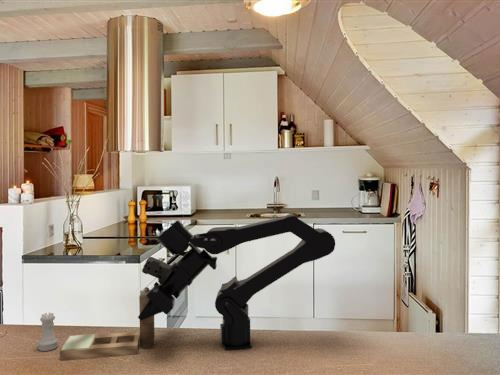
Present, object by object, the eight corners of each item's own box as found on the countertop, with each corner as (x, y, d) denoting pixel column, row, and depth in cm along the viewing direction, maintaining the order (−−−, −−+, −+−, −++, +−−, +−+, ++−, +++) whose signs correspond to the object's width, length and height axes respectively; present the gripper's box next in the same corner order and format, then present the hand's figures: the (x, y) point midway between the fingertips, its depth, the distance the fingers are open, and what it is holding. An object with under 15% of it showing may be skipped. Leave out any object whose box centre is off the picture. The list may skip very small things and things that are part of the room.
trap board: (139, 339, 105) (139, 330, 105) (137, 353, 97) (137, 344, 97) (69, 344, 102) (69, 335, 102) (59, 360, 93) (59, 350, 93)
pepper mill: (154, 342, 103) (154, 285, 103) (154, 347, 100) (153, 288, 100) (140, 343, 103) (139, 286, 103) (139, 349, 99) (138, 289, 99)
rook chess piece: (50, 352, 98) (49, 317, 98) (33, 351, 99) (32, 316, 99) (62, 345, 102) (61, 312, 102) (45, 343, 103) (45, 311, 103)
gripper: (168, 240, 111) (125, 283, 110) (156, 252, 92) (105, 304, 91) (199, 270, 111) (156, 313, 111) (193, 288, 92) (142, 339, 92)
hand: (141, 316), depth 101 cm, fingers closed on pepper mill, 3 cm apart
